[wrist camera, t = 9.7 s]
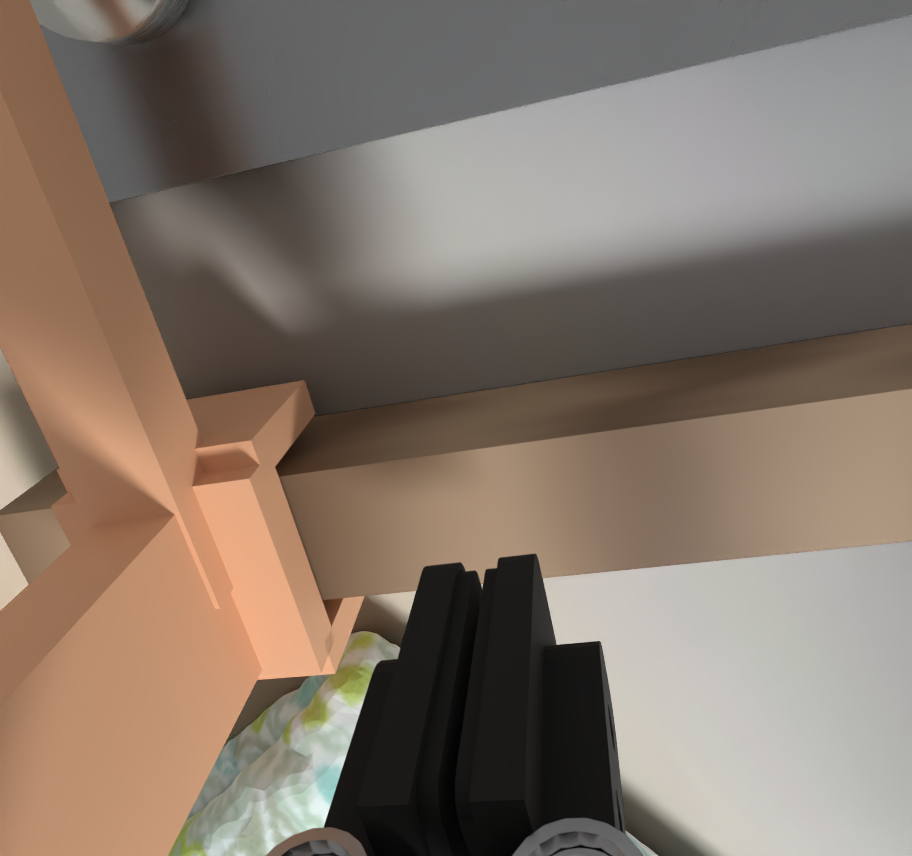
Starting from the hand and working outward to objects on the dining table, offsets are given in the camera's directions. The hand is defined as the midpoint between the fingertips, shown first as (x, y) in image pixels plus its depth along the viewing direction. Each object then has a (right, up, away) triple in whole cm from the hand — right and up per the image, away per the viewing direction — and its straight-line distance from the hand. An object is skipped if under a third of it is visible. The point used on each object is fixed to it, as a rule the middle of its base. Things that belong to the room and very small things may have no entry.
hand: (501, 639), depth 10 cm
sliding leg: (-6, +5, +4) cm, 9 cm away
